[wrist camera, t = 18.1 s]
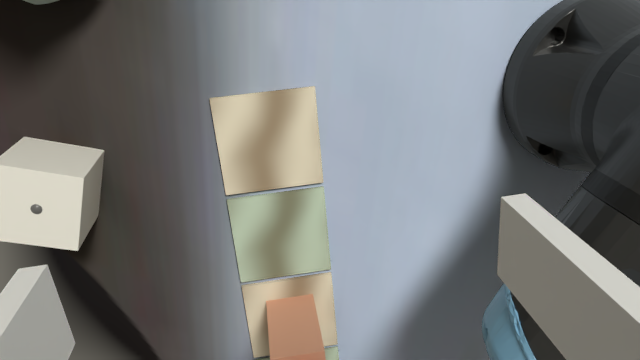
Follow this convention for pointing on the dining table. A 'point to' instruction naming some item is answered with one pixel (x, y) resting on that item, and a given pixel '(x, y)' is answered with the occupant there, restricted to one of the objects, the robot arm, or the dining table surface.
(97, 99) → the dining table surface
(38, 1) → the air freshener
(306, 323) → the orange-brown peg figure
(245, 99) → the track
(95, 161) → the die
